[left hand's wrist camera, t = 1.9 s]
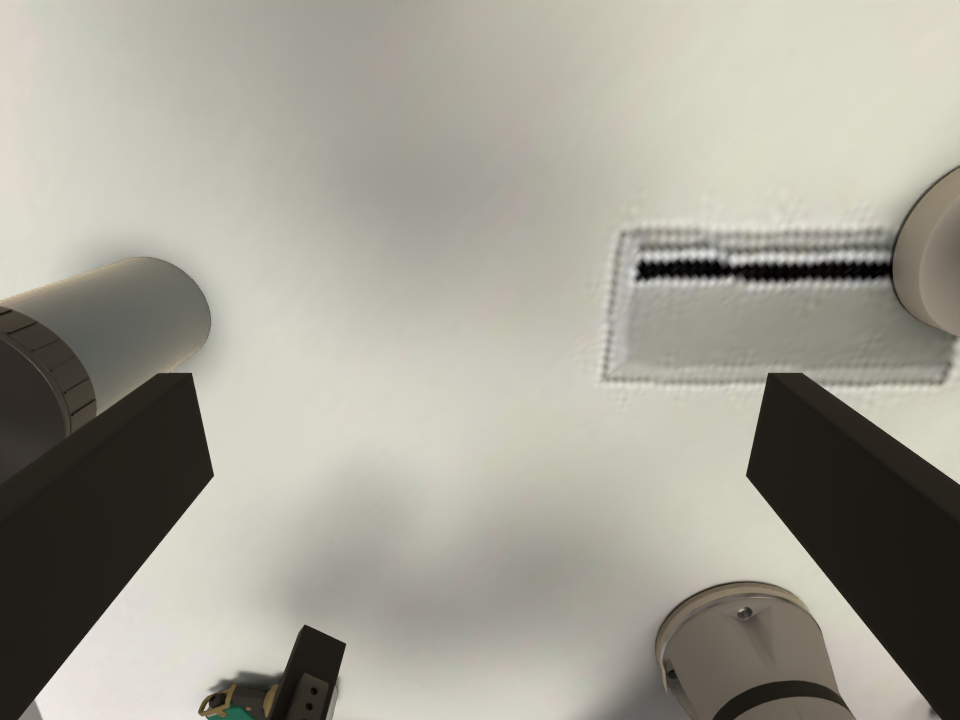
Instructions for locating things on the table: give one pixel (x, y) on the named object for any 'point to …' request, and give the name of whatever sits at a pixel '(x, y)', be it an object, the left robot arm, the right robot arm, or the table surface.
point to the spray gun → (245, 704)
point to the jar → (122, 321)
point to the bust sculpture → (932, 257)
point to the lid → (38, 391)
